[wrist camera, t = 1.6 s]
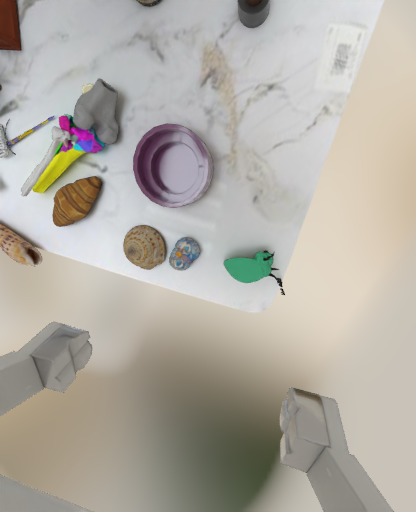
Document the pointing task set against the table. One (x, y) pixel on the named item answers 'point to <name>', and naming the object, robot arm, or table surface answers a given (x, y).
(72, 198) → the croissant
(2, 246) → the seashell
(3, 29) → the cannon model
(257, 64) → the table surface
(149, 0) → the pill bottle
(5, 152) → the necklace
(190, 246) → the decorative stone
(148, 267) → the seashell
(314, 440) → the robot arm
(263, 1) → the dish brush
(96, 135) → the knee model
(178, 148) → the plum bowl
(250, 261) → the toy
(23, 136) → the pen
